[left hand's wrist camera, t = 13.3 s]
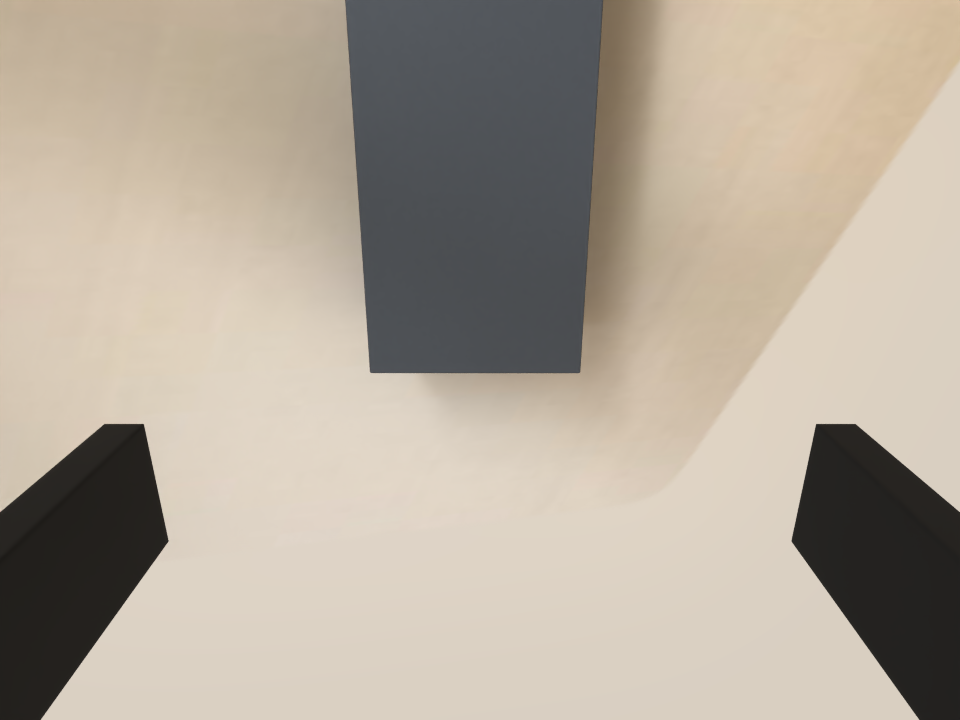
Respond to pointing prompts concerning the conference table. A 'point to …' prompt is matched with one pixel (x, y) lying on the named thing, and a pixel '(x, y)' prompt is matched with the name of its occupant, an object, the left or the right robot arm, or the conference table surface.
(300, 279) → the conference table surface
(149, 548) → the left robot arm
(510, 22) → the long grey beam
